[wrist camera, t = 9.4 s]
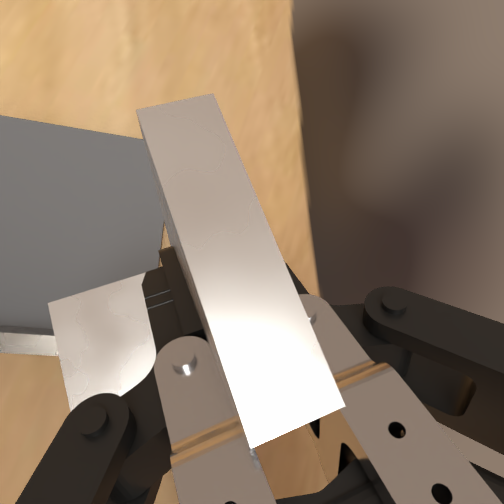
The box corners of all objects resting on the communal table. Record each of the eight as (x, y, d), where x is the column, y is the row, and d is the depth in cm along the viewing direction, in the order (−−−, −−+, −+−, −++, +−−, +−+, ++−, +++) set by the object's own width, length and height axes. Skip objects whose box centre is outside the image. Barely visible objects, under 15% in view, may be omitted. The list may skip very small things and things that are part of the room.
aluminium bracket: (91, 463, 13) (-178, 640, 4) (57, 308, 15) (-188, 178, 6) (258, 394, 15) (345, 405, 5) (209, 259, 16) (213, 93, 7)
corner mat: (-146, 314, 26) (-154, 314, 25) (-93, 102, 28) (-99, 98, 28) (149, 334, 30) (149, 335, 29) (173, 147, 32) (173, 144, 32)
